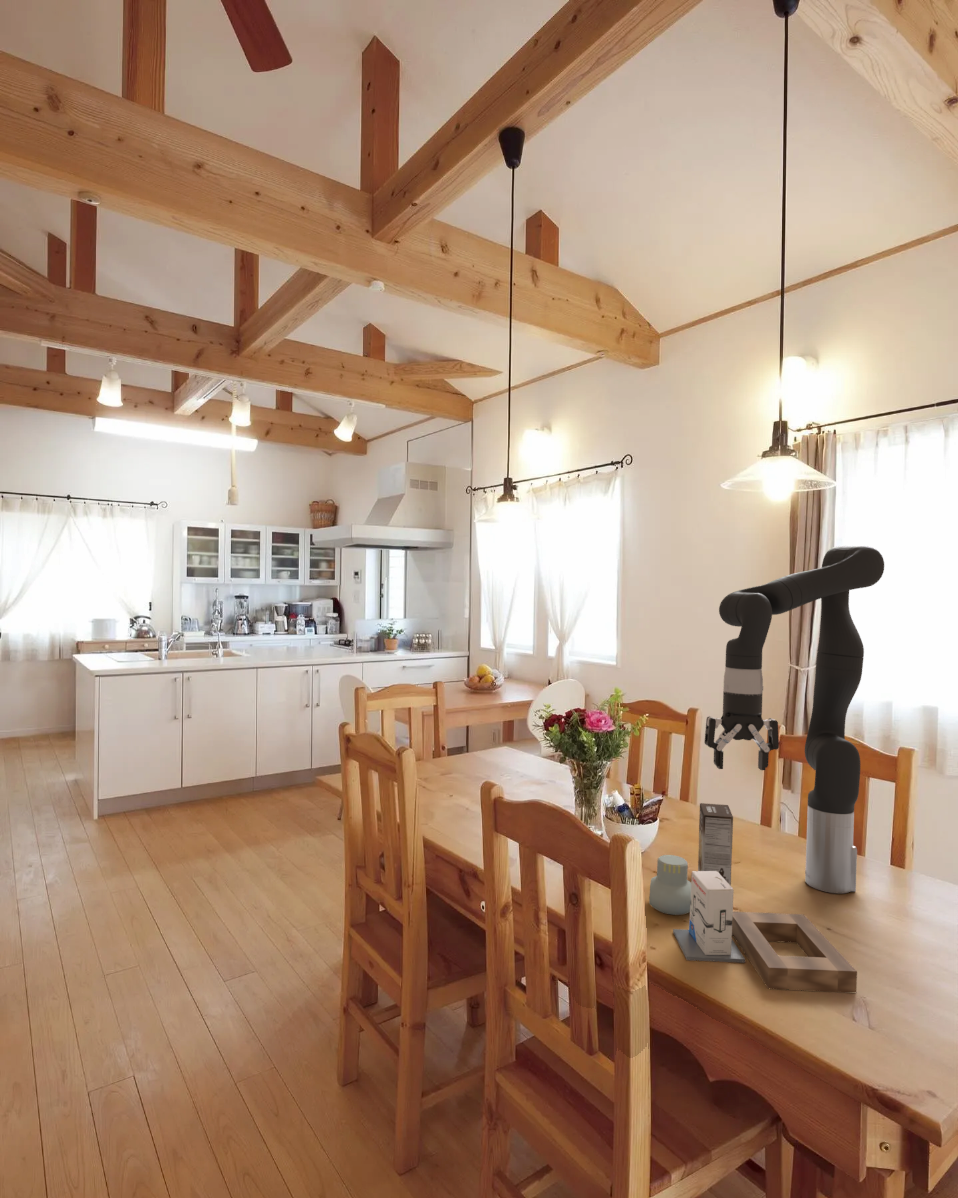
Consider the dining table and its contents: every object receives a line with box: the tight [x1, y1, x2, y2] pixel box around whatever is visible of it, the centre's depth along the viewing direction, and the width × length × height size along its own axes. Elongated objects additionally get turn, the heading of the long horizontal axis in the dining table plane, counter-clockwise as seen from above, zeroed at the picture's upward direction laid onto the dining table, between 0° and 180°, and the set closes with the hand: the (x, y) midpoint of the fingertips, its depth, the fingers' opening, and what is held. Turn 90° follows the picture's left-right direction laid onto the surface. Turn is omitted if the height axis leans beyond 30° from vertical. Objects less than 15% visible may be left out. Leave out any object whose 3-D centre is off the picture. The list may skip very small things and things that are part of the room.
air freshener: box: [648, 854, 692, 916], centre depth 142 cm, size 11×8×10 cm
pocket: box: [732, 911, 858, 993], centre depth 123 cm, size 14×20×4 cm
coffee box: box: [697, 802, 734, 887], centre depth 156 cm, size 9×6×16 cm
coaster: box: [672, 928, 746, 964], centre depth 127 cm, size 10×10×1 cm
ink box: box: [688, 870, 735, 955], centre depth 127 cm, size 9×5×12 cm, turn 3°
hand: (740, 768), depth 144 cm, fingers open, 8 cm apart
